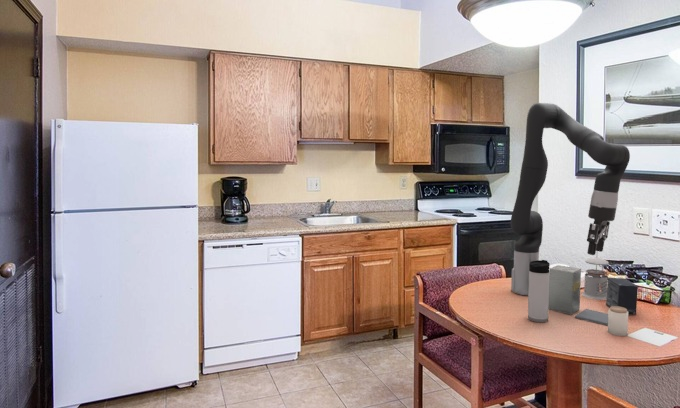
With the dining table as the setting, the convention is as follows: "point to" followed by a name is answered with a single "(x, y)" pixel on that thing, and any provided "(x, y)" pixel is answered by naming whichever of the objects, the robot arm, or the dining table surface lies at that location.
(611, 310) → the cream jar
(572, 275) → the box
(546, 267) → the travel mug
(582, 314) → the slate pad
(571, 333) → the dining table surface
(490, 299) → the dining table surface
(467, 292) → the dining table surface
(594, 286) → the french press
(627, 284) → the small box
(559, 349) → the dining table surface
